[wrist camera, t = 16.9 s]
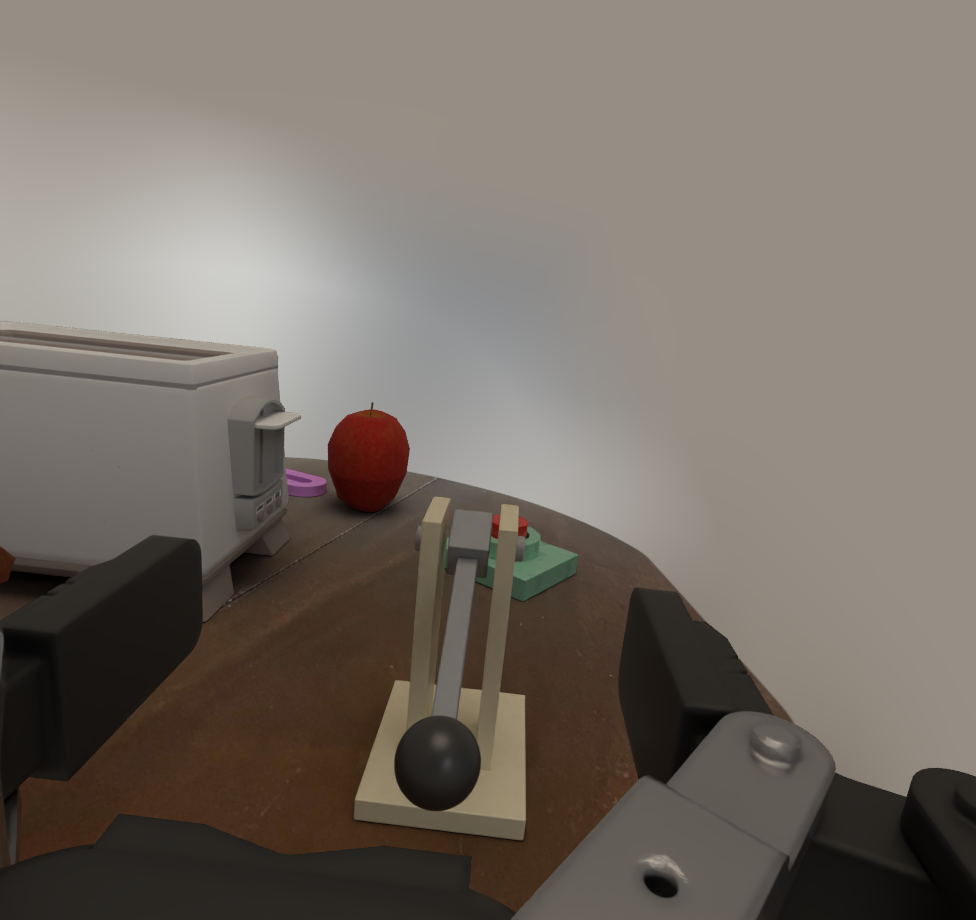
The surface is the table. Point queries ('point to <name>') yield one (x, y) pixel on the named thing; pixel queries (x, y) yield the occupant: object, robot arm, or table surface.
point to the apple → (368, 459)
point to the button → (521, 526)
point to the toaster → (138, 449)
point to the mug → (5, 564)
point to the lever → (448, 686)
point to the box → (532, 566)
